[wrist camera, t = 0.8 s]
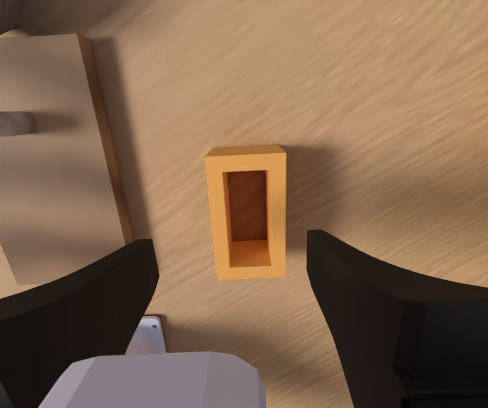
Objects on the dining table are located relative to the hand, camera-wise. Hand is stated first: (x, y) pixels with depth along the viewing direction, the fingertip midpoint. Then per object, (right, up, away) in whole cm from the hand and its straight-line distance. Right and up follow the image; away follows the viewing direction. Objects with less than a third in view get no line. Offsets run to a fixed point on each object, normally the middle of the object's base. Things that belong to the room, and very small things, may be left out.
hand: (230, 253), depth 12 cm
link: (+1, +2, +9) cm, 9 cm away
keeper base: (-14, +5, +8) cm, 17 cm away
